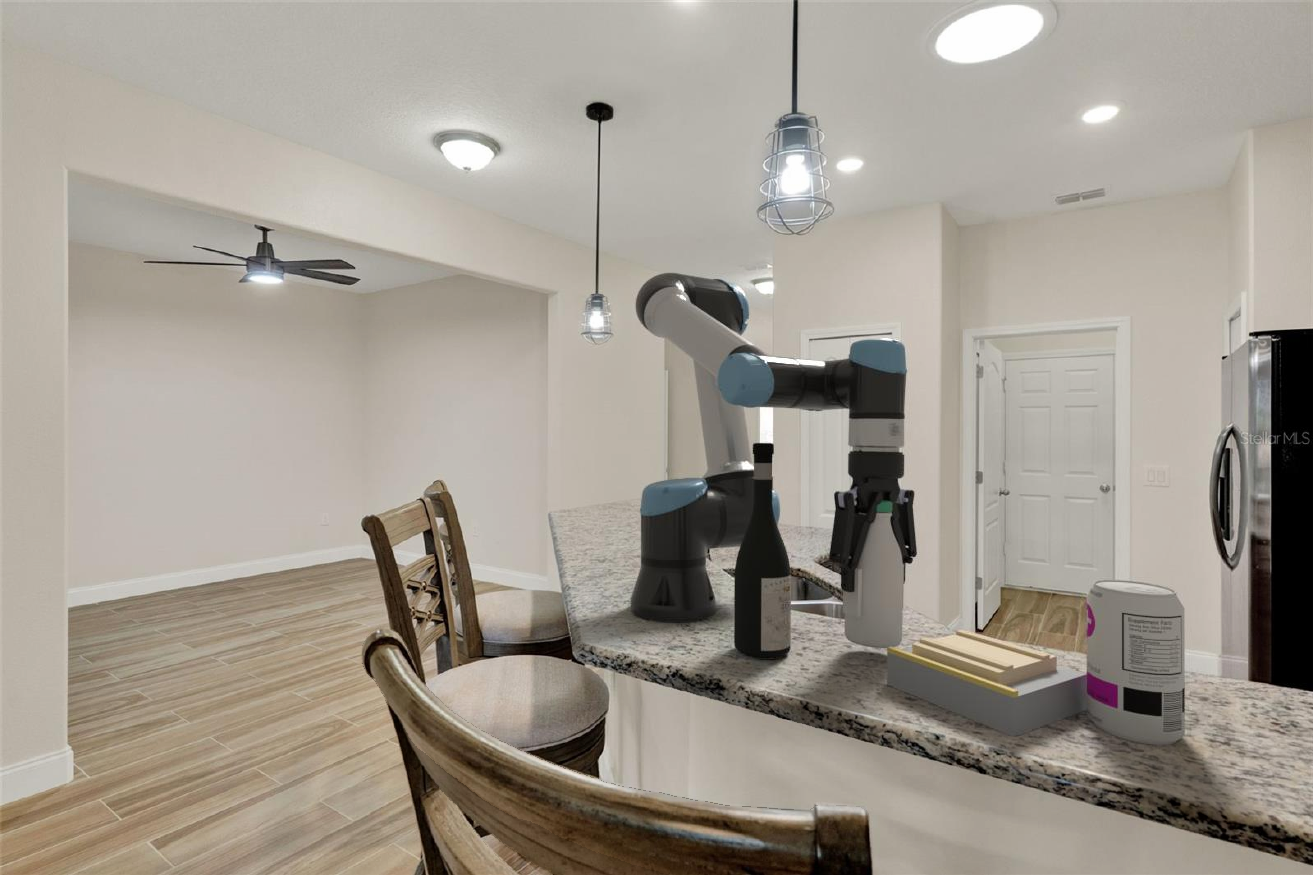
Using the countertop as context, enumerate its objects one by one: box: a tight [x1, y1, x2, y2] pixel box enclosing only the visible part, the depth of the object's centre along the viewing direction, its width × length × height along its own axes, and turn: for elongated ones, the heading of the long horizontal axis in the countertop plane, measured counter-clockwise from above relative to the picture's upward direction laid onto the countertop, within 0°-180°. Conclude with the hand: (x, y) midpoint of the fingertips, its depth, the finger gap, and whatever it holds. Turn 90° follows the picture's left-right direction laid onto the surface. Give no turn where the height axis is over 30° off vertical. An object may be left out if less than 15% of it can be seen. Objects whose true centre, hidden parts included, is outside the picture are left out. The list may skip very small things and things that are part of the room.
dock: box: [886, 629, 1087, 738], centre depth 75 cm, size 16×14×6 cm
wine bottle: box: [733, 442, 792, 660], centre depth 90 cm, size 8×8×30 cm
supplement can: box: [1086, 579, 1186, 746], centre depth 66 cm, size 8×8×15 cm
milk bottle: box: [844, 500, 904, 649], centre depth 89 cm, size 8×8×20 cm
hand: (873, 610), depth 89 cm, fingers closed on milk bottle, 8 cm apart
